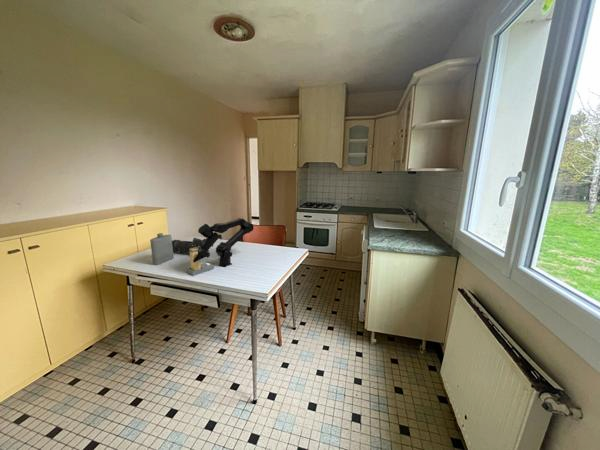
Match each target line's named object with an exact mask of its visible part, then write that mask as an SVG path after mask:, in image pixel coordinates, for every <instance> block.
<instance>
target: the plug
mask: <svg viewBox="0 0 600 450" xmlns="http://www.w3.org/2000/svg"><path fill="white" fill-rule="evenodd" d="M189 251H190V253H189V260H190V267H191V270H192V271H196V270H199V269H201V266H200V264H201V259H200V260H198V261H196V262H193V260H194V258H195V257H196V256H197V254H198V251H199V248H196V247H195V248H191V249H189Z"/></svg>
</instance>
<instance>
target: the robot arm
mask: <svg viewBox="0 0 600 450" xmlns="http://www.w3.org/2000/svg"><path fill="white" fill-rule="evenodd" d="M237 226H239V230H238V231H236V232H235V233H234V235H232V236H231V237H230V238H229V239H227V241H226V242H223V241H221V242H220V243H219V244H217V246H216V247H215V253H216V254H217V256H219V259H218V261H219V263H218V266H221V267H223V268H225V267H227V266H232V265H233V263H232V262H231V257H233V252H231V249H232V247H233V246H234V245H235V244H237V242H239V240H240V239H242V238H243V237H244V236H245V235H247V234H250V233H251V232H253V230H254V225H253V223H250V222H249V221H247V220H245V219H244V218H241V217H238V218H236V219H233V220H230V221H228V222H217V223H214V224H213V225H212V226H210V225H209V224H206V223H204V224H203V225H201V226H200V227H199V228H198V230H197V232H198V233H199V234H200V235H201V236H203V237H204V238H203V239H200V238H197V237H193V239H192V243H193V244H195V246H197V247H196V248H199V251H198V254H197V256H196V257H195V258H194V260H193V262H196V261H198V260H200V261H201V260H202V259H204V258H205V259H206V258H208V259H209V258H210V256H211V253H210V249H211V248H212V247H214V245H215V243H216V242H217V241H218V240H219V239H220V240H222V239H223V237H222V234H223V233H225V232H227V231H228V230H229V229H232V228H235V227H237Z"/></svg>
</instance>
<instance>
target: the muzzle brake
mask: <svg viewBox="0 0 600 450" xmlns="http://www.w3.org/2000/svg"><path fill="white" fill-rule="evenodd" d="M192 241H193V240H192ZM192 241H190V240H189V241H188V240H181V239H172V247H173V253H179V254H190V251H189V249H191V248H195V247H197V246H195V244H193V243H192Z"/></svg>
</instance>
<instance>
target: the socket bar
mask: <svg viewBox="0 0 600 450" xmlns="http://www.w3.org/2000/svg"><path fill="white" fill-rule="evenodd" d="M200 266H201V269H199V270H196V271H192V270H191V266H190V267H187V268H186V273H187V274H189V275H191V276H194V277H195V276H197V275H200V274H203V273H206V272H210V271H213V270H214V269H215V265H214V264H212V263H210V262H203V263H200Z"/></svg>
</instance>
